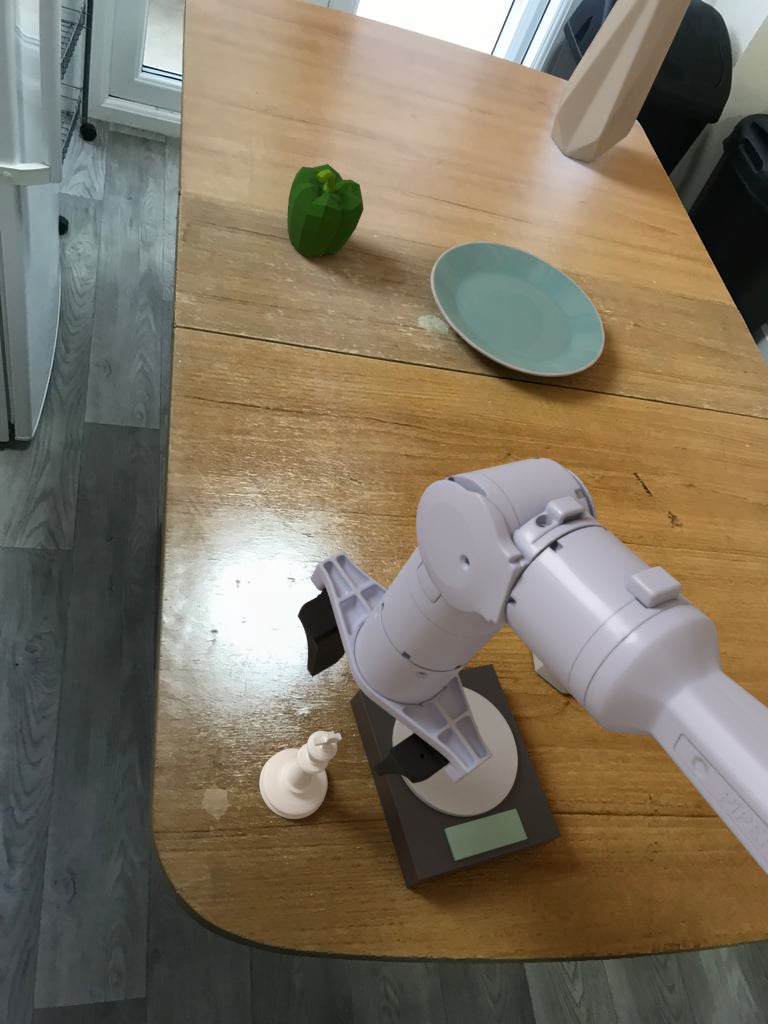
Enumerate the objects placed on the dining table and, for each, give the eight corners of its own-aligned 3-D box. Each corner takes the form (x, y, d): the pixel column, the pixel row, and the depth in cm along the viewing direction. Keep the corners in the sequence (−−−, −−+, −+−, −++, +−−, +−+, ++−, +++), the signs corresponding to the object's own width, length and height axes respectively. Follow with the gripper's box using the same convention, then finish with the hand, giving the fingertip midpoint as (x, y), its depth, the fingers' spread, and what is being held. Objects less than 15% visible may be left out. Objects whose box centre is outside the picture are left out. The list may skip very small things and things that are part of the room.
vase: (570, 119, 136) (692, -109, 111) (618, 163, 133) (756, -61, 108) (522, 126, 129) (641, -116, 104) (571, 173, 126) (706, -65, 101)
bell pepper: (324, 215, 100) (348, 140, 92) (359, 262, 97) (387, 189, 89) (262, 222, 95) (282, 143, 88) (296, 271, 92) (320, 195, 85)
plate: (422, 362, 91) (432, 343, 89) (423, 237, 104) (431, 218, 102) (604, 412, 96) (617, 395, 94) (582, 287, 109) (594, 270, 107)
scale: (545, 844, 64) (565, 834, 62) (406, 888, 59) (421, 878, 56) (480, 676, 71) (495, 661, 68) (349, 701, 65) (361, 686, 63)
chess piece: (252, 756, 60) (284, 704, 53) (317, 744, 63) (356, 692, 55) (267, 826, 58) (303, 781, 50) (333, 811, 60) (377, 765, 52)
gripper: (567, 699, 44) (464, 776, 55) (406, 491, 49) (339, 600, 59) (475, 768, 40) (383, 838, 51) (309, 536, 45) (255, 644, 55)
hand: (354, 714), depth 55 cm, fingers open, 7 cm apart
